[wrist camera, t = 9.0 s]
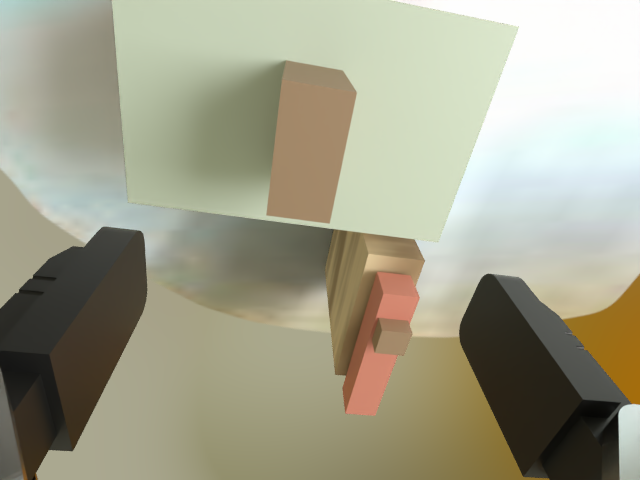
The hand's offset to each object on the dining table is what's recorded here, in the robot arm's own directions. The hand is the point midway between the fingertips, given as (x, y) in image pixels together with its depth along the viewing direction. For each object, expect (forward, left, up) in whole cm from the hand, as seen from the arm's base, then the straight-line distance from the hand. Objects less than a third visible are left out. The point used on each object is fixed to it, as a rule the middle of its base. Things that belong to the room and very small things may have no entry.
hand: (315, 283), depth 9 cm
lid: (0, 0, -16) cm, 16 cm away
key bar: (+7, -15, -14) cm, 22 cm away
